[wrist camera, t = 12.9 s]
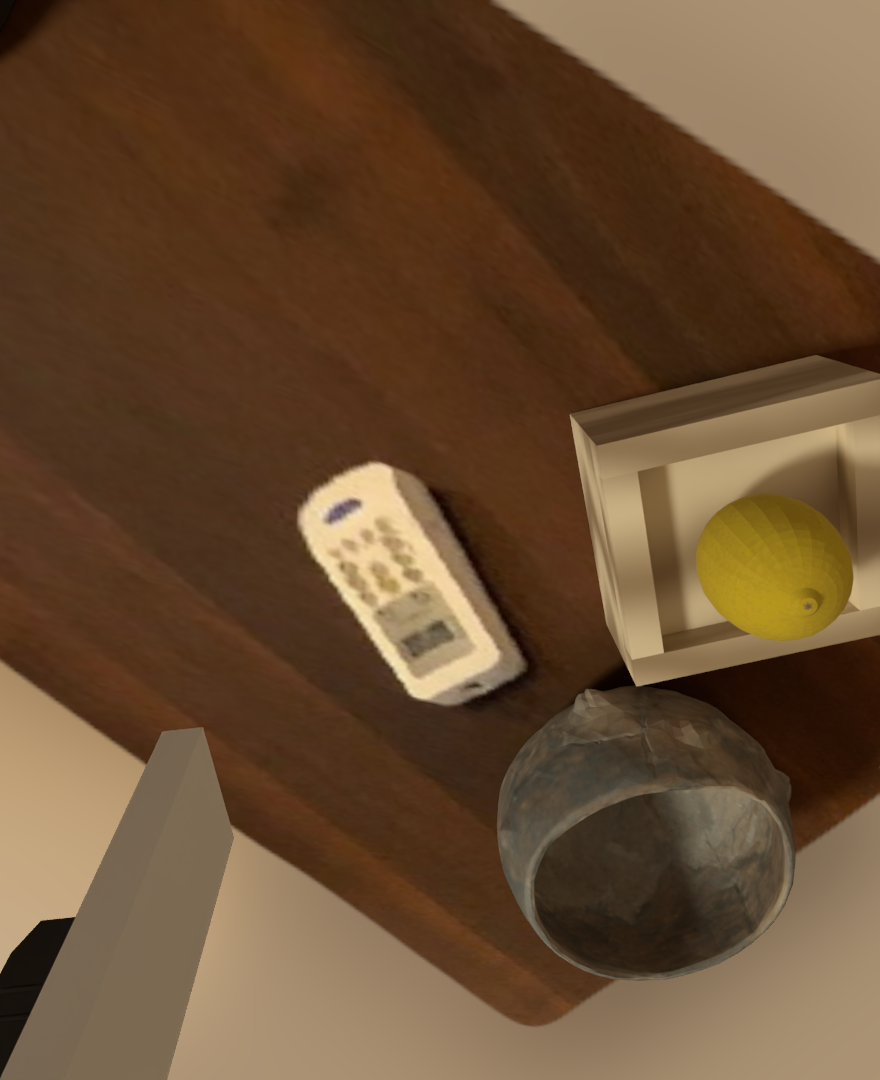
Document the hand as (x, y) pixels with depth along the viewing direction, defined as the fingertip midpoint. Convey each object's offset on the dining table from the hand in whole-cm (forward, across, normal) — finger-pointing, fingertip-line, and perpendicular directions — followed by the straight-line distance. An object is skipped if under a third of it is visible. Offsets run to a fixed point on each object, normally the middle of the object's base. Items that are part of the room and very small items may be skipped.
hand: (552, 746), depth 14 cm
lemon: (+20, +12, -5) cm, 24 cm away
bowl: (+24, +7, -21) cm, 33 cm away
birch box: (+25, +12, -6) cm, 28 cm away
